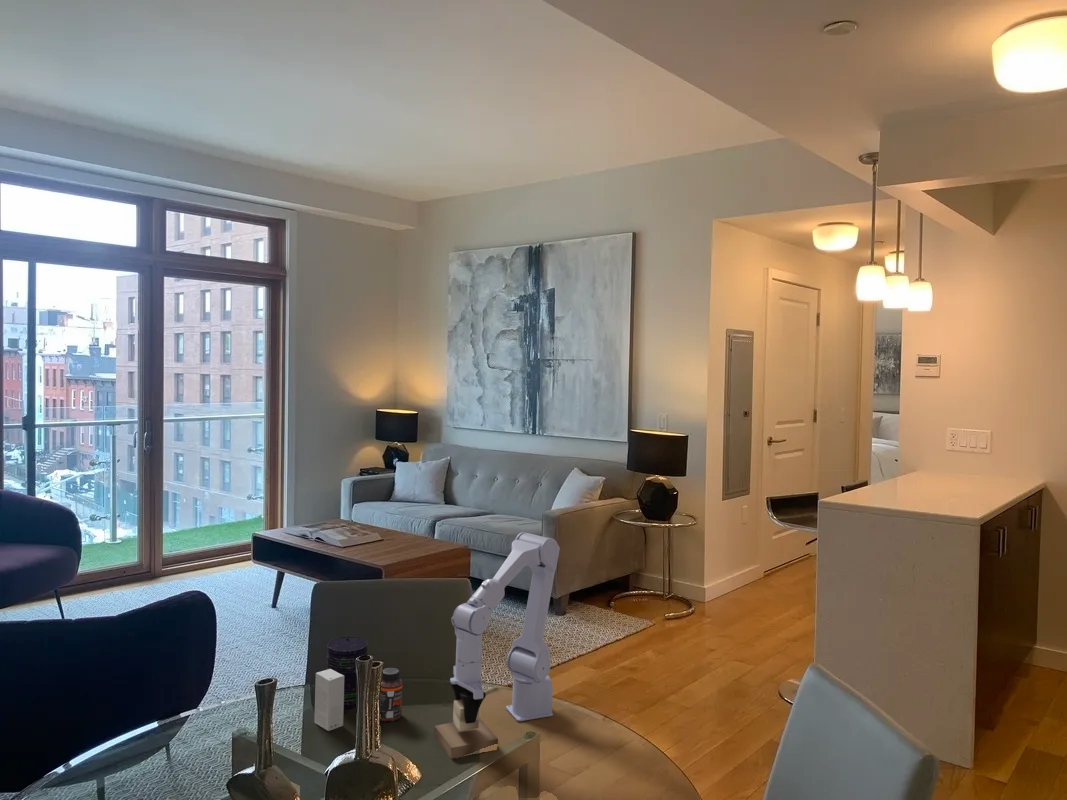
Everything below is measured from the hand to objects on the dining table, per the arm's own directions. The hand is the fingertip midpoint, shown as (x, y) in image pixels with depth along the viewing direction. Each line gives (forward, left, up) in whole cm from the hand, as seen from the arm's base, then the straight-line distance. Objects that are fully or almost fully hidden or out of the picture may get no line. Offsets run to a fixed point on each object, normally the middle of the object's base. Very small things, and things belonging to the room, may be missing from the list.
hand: (466, 717), depth 178 cm
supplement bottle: (+13, -18, -6) cm, 23 cm away
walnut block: (0, 0, -6) cm, 6 cm away
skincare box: (+27, -19, -6) cm, 34 cm away
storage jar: (+21, -29, -6) cm, 36 cm away
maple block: (0, 0, -2) cm, 2 cm away
